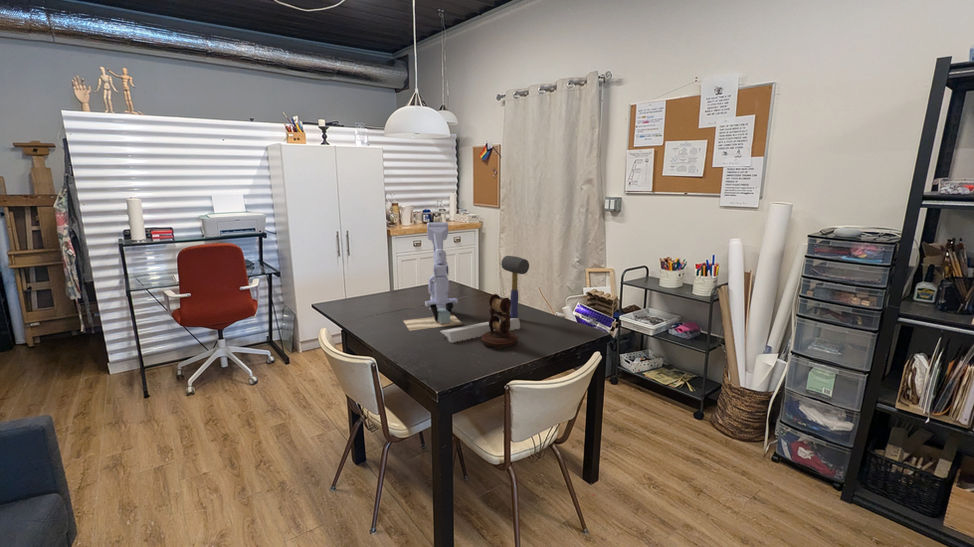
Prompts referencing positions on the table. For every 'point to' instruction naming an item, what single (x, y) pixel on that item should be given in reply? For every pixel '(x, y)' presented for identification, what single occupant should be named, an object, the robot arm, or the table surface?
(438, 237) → the robot arm
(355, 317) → the table surface
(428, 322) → the birch board
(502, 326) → the wooden spool holder
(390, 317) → the table surface
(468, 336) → the decorative molding
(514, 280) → the rubber mallet
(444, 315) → the block
